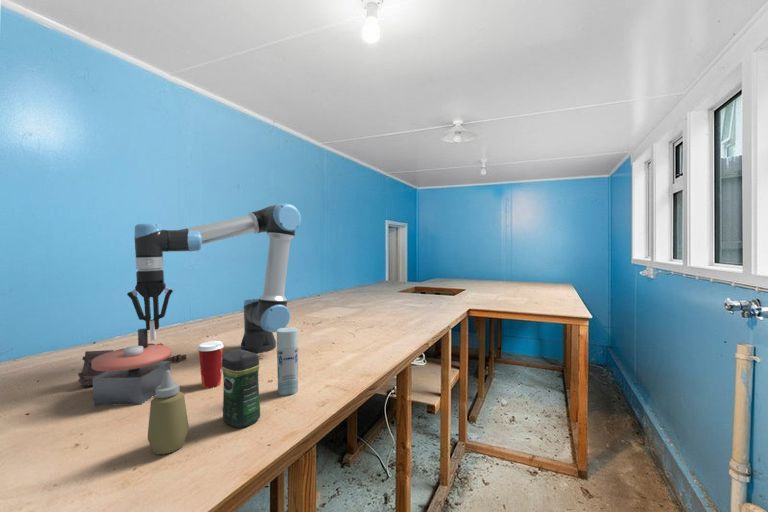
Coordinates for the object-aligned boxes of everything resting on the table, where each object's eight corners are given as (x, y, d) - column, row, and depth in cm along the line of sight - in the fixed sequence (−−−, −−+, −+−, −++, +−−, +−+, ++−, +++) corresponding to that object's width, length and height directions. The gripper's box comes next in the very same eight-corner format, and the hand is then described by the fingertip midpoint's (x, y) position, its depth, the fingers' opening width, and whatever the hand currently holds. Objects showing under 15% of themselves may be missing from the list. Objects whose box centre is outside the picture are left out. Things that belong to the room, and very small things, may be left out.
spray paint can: (276, 389, 109) (275, 328, 108) (296, 385, 111) (296, 326, 111) (278, 397, 103) (277, 333, 102) (300, 393, 105) (299, 330, 105)
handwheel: (160, 375, 99) (159, 341, 99) (76, 384, 93) (75, 347, 92) (178, 354, 118) (178, 325, 118) (110, 361, 112) (109, 330, 112)
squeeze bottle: (160, 438, 81) (158, 365, 81) (195, 436, 82) (193, 364, 81) (139, 459, 73) (137, 378, 73) (178, 457, 74) (176, 377, 73)
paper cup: (229, 382, 115) (228, 341, 114) (211, 391, 107) (210, 348, 107) (211, 379, 117) (210, 339, 117) (192, 388, 110) (191, 345, 110)
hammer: (75, 381, 112) (82, 350, 113) (179, 370, 139) (183, 346, 140) (81, 386, 108) (88, 354, 109) (187, 374, 135) (191, 349, 136)
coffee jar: (265, 419, 90) (264, 350, 90) (237, 432, 84) (236, 359, 83) (245, 408, 96) (244, 344, 95) (218, 420, 90) (216, 351, 89)
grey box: (170, 384, 113) (170, 360, 113) (142, 404, 99) (141, 377, 99) (128, 385, 113) (127, 361, 112) (93, 404, 99) (92, 378, 98)
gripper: (123, 271, 106) (127, 345, 107) (171, 269, 112) (174, 339, 113) (129, 270, 113) (132, 339, 114) (173, 268, 119) (176, 333, 120)
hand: (153, 339), depth 114 cm, fingers closed
